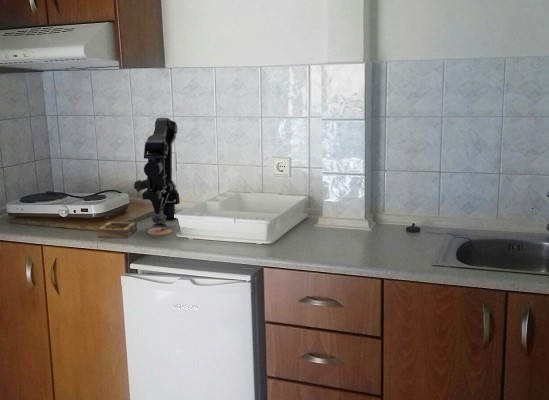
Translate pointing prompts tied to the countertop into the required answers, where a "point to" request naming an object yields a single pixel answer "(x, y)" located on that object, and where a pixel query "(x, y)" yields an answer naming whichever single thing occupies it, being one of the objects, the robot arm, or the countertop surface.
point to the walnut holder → (117, 229)
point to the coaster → (159, 231)
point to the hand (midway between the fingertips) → (158, 213)
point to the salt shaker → (159, 219)
